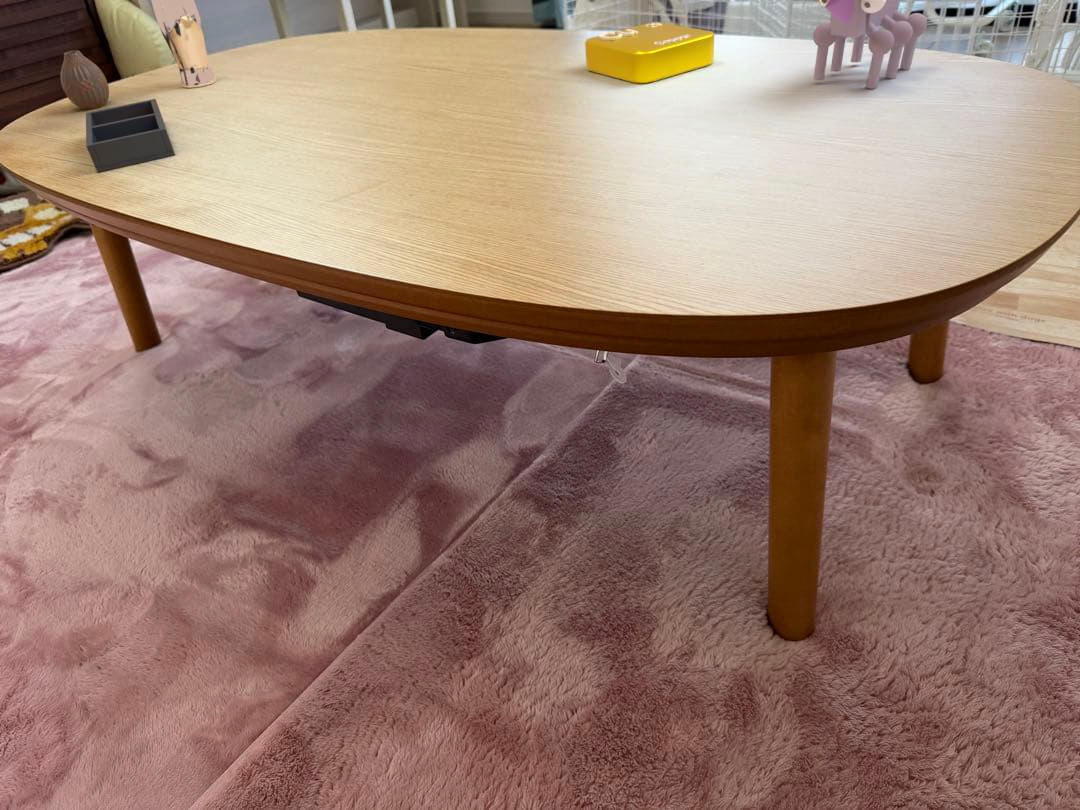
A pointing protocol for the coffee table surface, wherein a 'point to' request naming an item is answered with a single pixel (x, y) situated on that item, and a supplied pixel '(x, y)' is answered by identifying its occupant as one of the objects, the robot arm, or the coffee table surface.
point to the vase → (83, 81)
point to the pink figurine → (857, 12)
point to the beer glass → (185, 40)
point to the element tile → (649, 52)
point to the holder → (127, 135)
